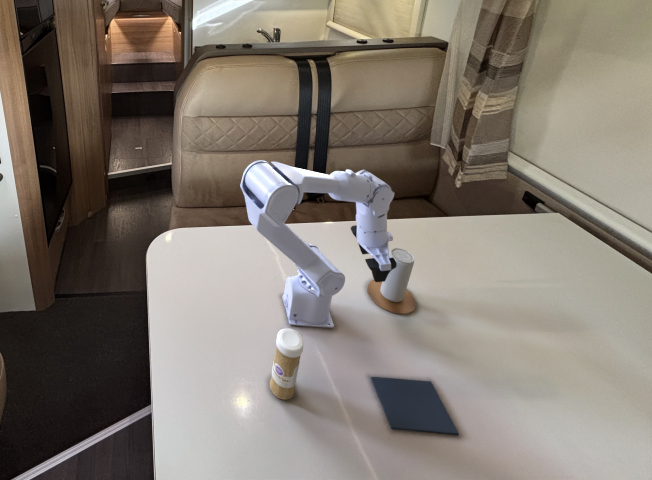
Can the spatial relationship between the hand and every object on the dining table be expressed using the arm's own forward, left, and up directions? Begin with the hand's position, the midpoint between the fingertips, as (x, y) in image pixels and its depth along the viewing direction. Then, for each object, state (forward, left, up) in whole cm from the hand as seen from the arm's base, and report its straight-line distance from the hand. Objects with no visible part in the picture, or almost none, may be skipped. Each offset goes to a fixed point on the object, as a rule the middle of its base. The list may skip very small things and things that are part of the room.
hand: (372, 266), depth 97 cm
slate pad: (-1, -25, -9) cm, 26 cm away
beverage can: (+6, 0, -9) cm, 11 cm away
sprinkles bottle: (-24, -24, -9) cm, 35 cm away
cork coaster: (+6, 0, -9) cm, 11 cm away
